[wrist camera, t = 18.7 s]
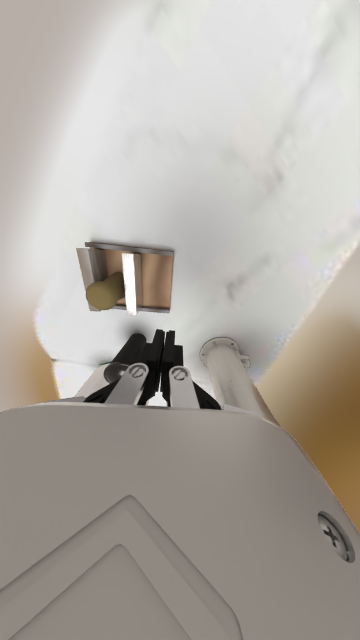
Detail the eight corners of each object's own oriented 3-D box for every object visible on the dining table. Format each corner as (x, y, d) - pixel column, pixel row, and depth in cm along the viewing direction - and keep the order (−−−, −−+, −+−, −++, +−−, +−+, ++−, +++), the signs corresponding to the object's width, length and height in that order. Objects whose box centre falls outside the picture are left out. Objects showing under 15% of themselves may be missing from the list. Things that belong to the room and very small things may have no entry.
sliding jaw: (141, 253, 29) (133, 254, 24) (142, 305, 35) (136, 314, 29) (131, 253, 29) (121, 253, 24) (134, 304, 35) (127, 314, 29)
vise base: (173, 251, 30) (172, 251, 24) (169, 309, 37) (168, 321, 31) (91, 242, 29) (68, 239, 23) (102, 304, 36) (86, 315, 30)
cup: (94, 364, 45) (60, 410, 32) (114, 358, 44) (87, 404, 31) (106, 378, 48) (80, 426, 35) (124, 373, 48) (104, 420, 34)
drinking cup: (125, 327, 39) (82, 390, 21) (152, 331, 40) (131, 395, 22) (124, 347, 42) (86, 417, 25) (149, 351, 43) (129, 421, 25)
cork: (117, 300, 34) (94, 319, 25) (103, 277, 32) (70, 288, 22) (138, 291, 33) (122, 308, 24) (125, 267, 31) (101, 274, 21)
